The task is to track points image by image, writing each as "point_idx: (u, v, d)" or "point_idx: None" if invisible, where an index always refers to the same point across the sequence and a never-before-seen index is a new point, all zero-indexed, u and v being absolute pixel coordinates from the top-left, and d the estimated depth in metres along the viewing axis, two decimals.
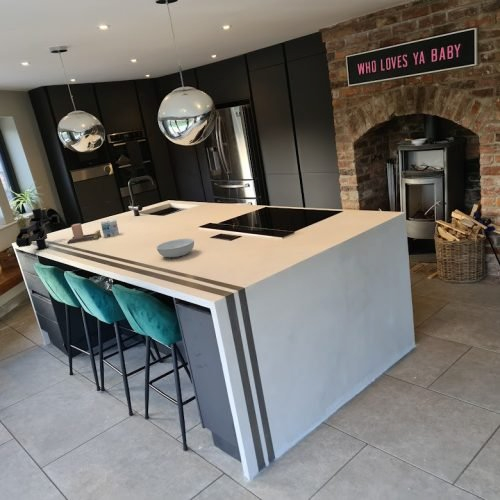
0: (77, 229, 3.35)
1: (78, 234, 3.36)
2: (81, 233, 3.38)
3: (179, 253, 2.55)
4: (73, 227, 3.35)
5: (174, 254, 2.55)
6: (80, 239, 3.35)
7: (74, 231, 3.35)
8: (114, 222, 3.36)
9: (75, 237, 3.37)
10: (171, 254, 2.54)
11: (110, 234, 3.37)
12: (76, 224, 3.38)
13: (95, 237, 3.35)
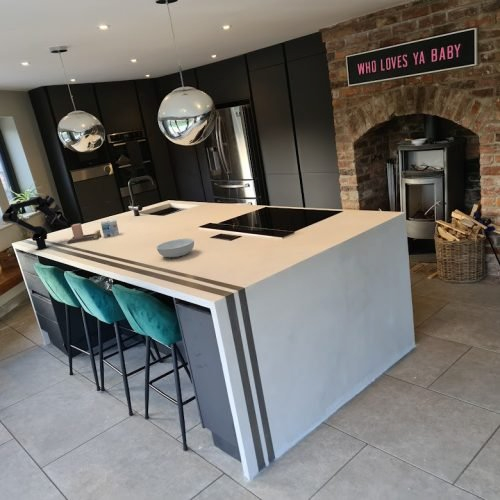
0: (77, 229, 3.35)
1: (78, 234, 3.36)
2: (81, 233, 3.38)
3: (179, 253, 2.55)
4: (73, 227, 3.35)
5: (174, 254, 2.55)
6: (80, 239, 3.35)
7: (74, 231, 3.35)
8: (114, 222, 3.36)
9: (75, 237, 3.37)
10: (171, 254, 2.54)
11: (110, 234, 3.37)
12: (76, 224, 3.38)
13: (95, 237, 3.35)
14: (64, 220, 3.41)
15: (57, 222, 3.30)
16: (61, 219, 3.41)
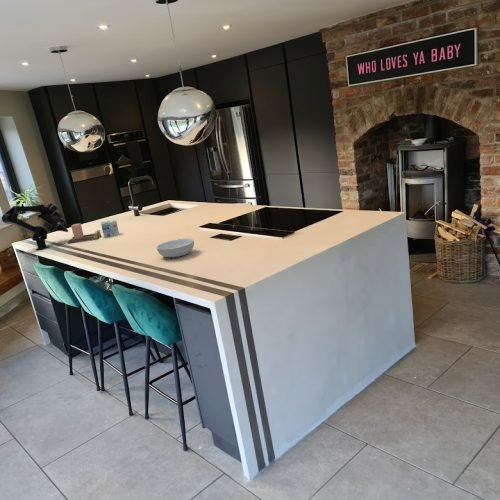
0: (77, 229, 3.35)
1: (78, 234, 3.36)
2: (81, 233, 3.38)
3: (179, 253, 2.55)
4: (73, 227, 3.35)
5: (174, 254, 2.55)
6: (80, 239, 3.35)
7: (74, 231, 3.35)
8: (114, 222, 3.36)
9: (75, 237, 3.37)
10: (171, 254, 2.54)
11: (110, 234, 3.37)
12: (76, 224, 3.38)
13: (95, 237, 3.35)
14: None
15: (61, 229, 3.36)
16: None
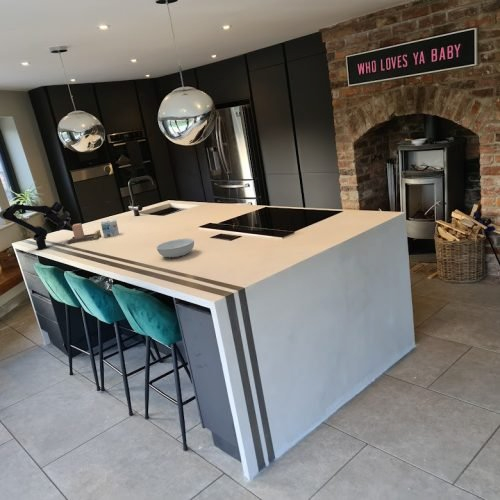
0: (78, 229, 3.35)
1: (79, 234, 3.36)
2: (82, 233, 3.38)
3: (179, 253, 2.55)
4: (74, 227, 3.35)
5: (174, 254, 2.55)
6: (80, 239, 3.35)
7: (75, 231, 3.35)
8: (114, 222, 3.36)
9: (76, 237, 3.37)
10: (171, 254, 2.54)
11: (110, 234, 3.37)
12: (77, 224, 3.38)
13: (95, 237, 3.35)
14: None
15: (67, 228, 3.36)
16: None
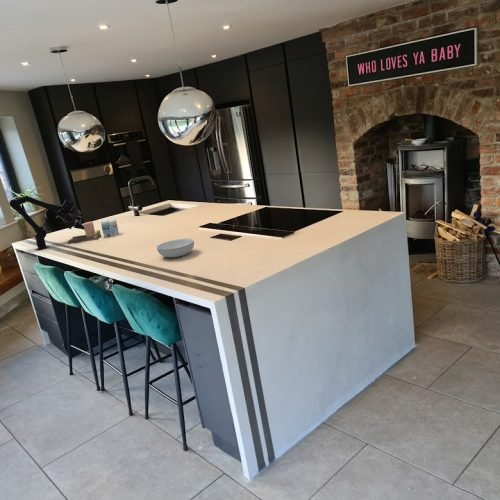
0: (89, 227, 3.35)
1: (90, 232, 3.36)
2: (93, 231, 3.39)
3: (179, 253, 2.55)
4: (85, 225, 3.35)
5: (174, 254, 2.55)
6: (80, 239, 3.35)
7: (86, 229, 3.35)
8: (114, 222, 3.36)
9: (87, 235, 3.37)
10: (171, 254, 2.54)
11: (110, 234, 3.37)
12: (88, 222, 3.38)
13: (95, 237, 3.35)
14: None
15: (78, 226, 3.36)
16: None
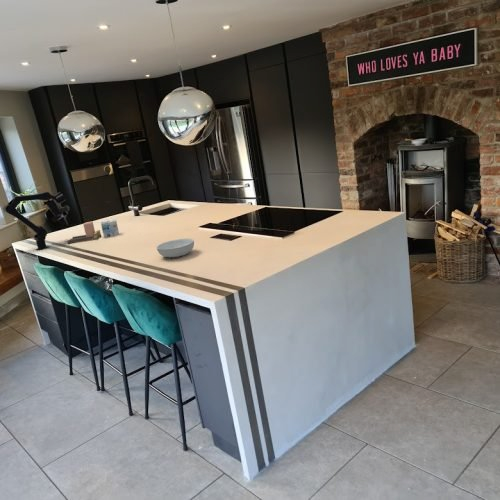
0: (89, 227, 3.35)
1: (90, 232, 3.36)
2: (93, 231, 3.39)
3: (179, 253, 2.55)
4: (85, 225, 3.35)
5: (174, 254, 2.55)
6: (80, 239, 3.35)
7: (86, 229, 3.35)
8: (114, 222, 3.36)
9: (87, 235, 3.37)
10: (171, 254, 2.54)
11: (110, 234, 3.37)
12: (88, 222, 3.38)
13: (95, 237, 3.35)
14: None
15: (62, 221, 3.35)
16: None
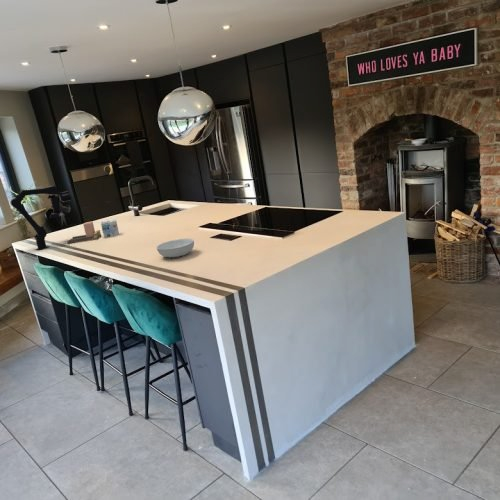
0: (89, 227, 3.35)
1: (90, 232, 3.36)
2: (93, 231, 3.39)
3: (179, 253, 2.55)
4: (85, 225, 3.35)
5: (174, 254, 2.55)
6: (80, 239, 3.35)
7: (86, 229, 3.35)
8: (114, 222, 3.36)
9: (87, 235, 3.37)
10: (171, 254, 2.54)
11: (110, 234, 3.37)
12: (88, 222, 3.38)
13: (95, 237, 3.35)
14: None
15: (58, 219, 3.34)
16: None
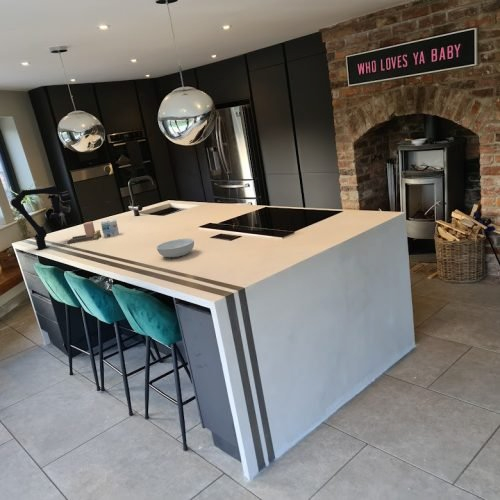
0: (89, 227, 3.35)
1: (90, 232, 3.36)
2: (93, 231, 3.39)
3: (179, 253, 2.55)
4: (85, 225, 3.35)
5: (174, 254, 2.55)
6: (80, 239, 3.35)
7: (86, 229, 3.35)
8: (114, 222, 3.36)
9: (87, 235, 3.37)
10: (171, 254, 2.54)
11: (110, 234, 3.37)
12: (88, 222, 3.38)
13: (95, 237, 3.35)
14: None
15: (58, 219, 3.34)
16: None
